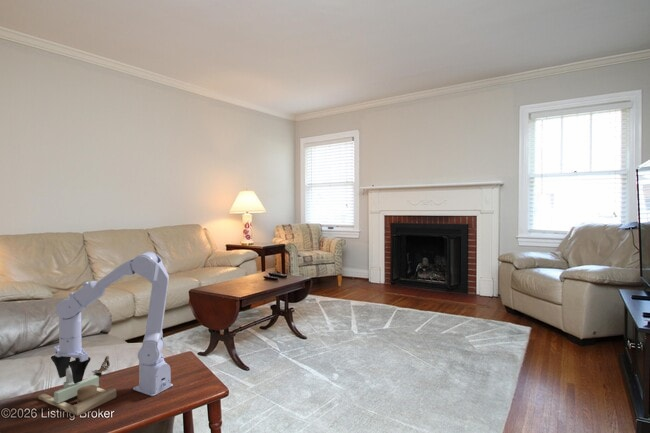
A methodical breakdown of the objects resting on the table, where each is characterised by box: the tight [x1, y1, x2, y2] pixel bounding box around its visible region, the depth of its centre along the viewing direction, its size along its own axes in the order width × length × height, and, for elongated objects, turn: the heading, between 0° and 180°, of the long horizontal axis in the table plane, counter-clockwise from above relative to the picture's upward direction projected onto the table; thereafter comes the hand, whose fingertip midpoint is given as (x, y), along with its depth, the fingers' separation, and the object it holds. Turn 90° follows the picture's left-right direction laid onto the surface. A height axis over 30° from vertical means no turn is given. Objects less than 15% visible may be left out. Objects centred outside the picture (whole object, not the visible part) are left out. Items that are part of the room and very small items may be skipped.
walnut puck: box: [76, 385, 98, 404], centre depth 111 cm, size 5×5×4 cm
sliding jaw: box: [53, 366, 100, 403], centre depth 114 cm, size 6×12×7 cm, turn 154°
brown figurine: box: [95, 355, 111, 377], centre depth 132 cm, size 2×8×4 cm, turn 7°
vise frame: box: [38, 386, 117, 417], centre depth 113 cm, size 20×12×2 cm, turn 64°
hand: (70, 379), depth 115 cm, fingers open, 7 cm apart
